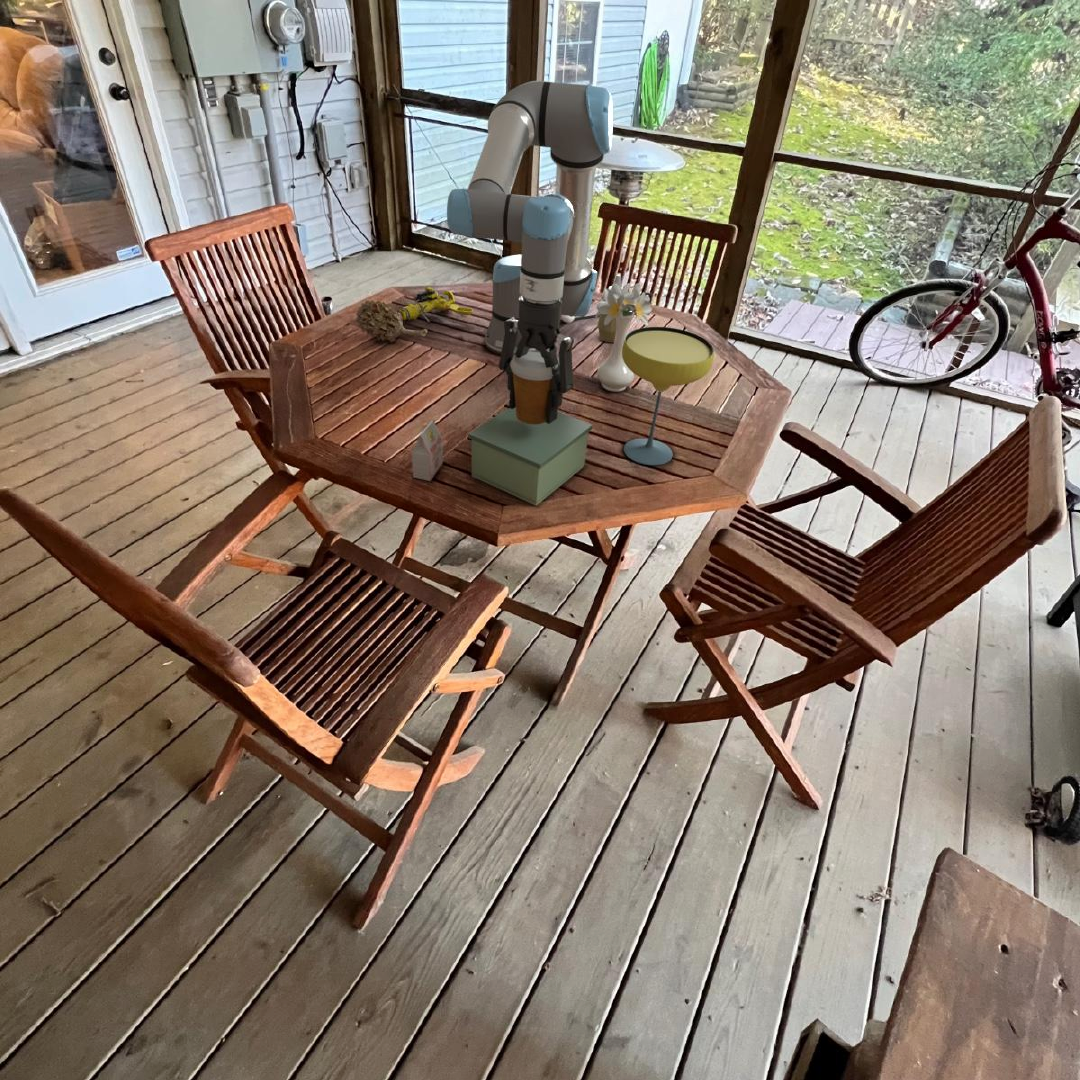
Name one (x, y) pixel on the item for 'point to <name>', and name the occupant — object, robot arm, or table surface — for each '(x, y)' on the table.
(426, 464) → the white gable carton
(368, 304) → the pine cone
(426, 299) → the sprinkler
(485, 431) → the green lidded box
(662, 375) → the cocktail glass
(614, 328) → the squeeze bottle
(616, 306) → the flower vase
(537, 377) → the disposable coffee cup
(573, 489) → the table surface
